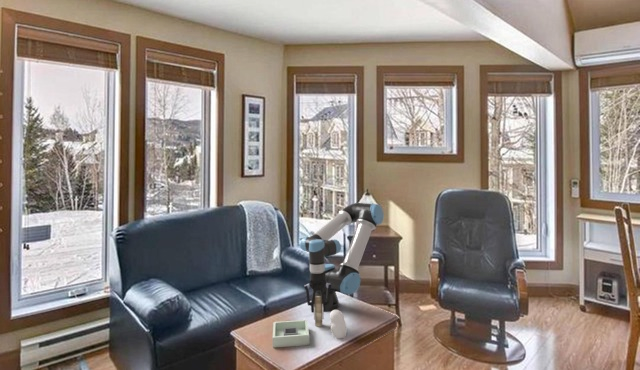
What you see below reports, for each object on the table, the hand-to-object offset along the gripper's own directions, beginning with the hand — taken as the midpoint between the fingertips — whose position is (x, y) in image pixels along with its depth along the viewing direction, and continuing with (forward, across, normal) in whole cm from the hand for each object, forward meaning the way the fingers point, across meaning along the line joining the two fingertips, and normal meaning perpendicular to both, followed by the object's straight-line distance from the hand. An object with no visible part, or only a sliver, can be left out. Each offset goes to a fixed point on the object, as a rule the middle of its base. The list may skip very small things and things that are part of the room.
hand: (318, 318), depth 180 cm
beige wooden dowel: (+4, 0, 0) cm, 4 cm away
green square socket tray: (+4, -14, -11) cm, 18 cm away
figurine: (+4, +8, -12) cm, 15 cm away
